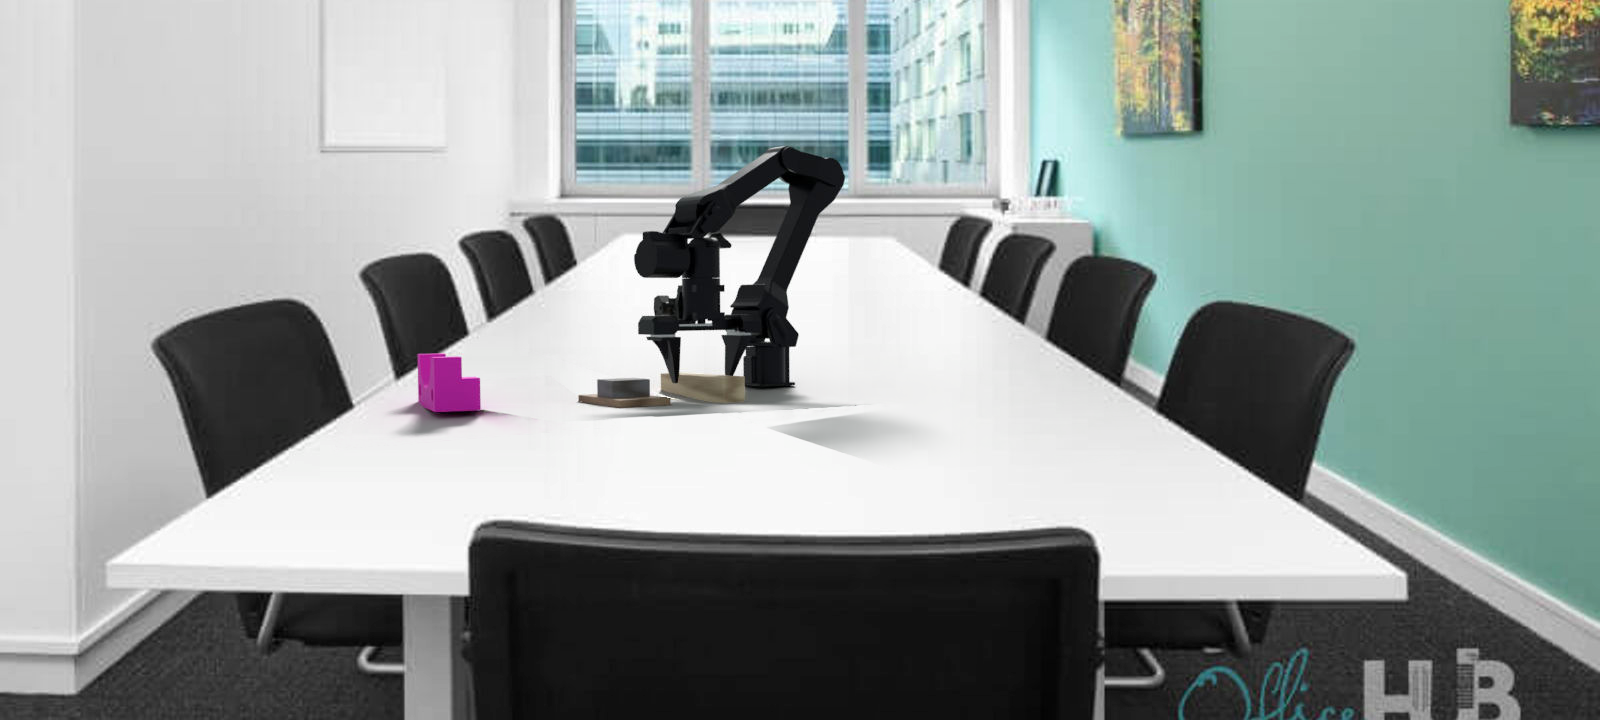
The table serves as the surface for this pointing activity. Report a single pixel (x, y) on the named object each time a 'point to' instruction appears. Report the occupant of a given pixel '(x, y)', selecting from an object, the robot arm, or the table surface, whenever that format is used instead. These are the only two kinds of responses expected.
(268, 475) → the table surface
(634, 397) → the fulcrum stand
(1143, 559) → the table surface
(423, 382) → the toy block
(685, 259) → the robot arm
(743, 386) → the beam
